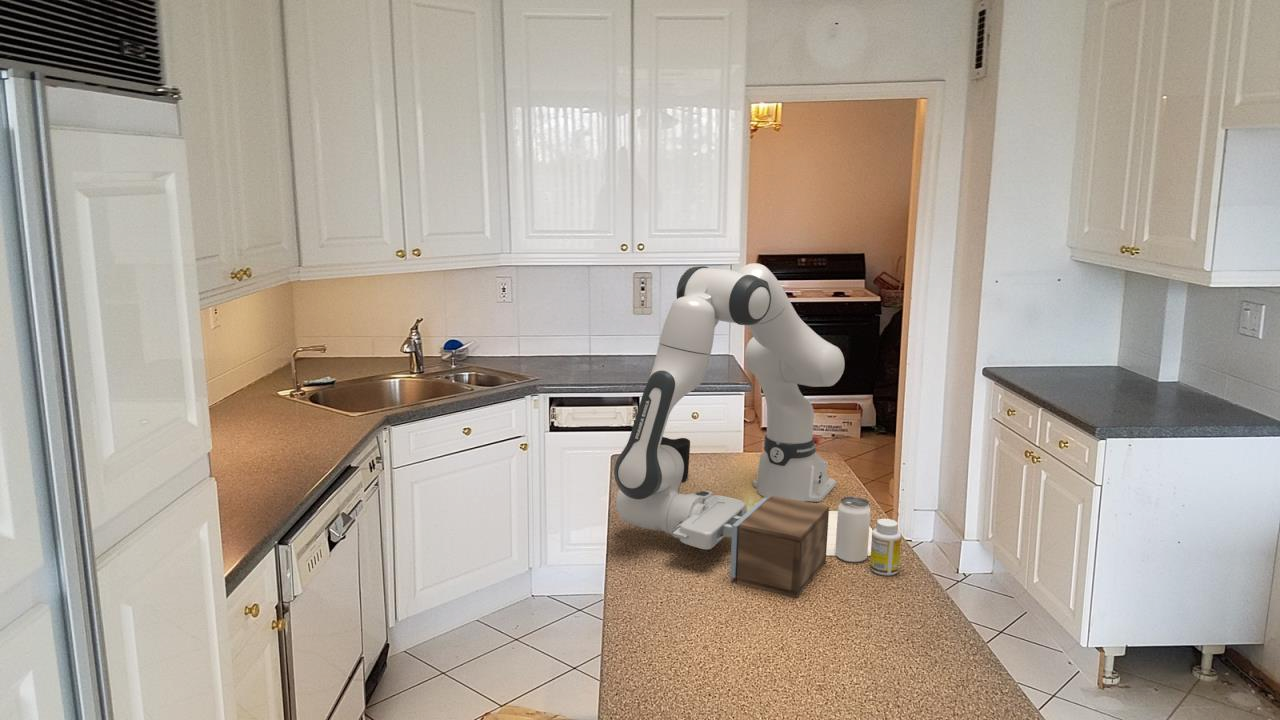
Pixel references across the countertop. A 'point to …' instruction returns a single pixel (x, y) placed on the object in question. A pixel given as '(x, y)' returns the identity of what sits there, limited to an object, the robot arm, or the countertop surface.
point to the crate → (782, 545)
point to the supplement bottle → (885, 547)
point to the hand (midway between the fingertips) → (751, 530)
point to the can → (852, 529)
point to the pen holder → (680, 451)
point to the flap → (736, 538)
